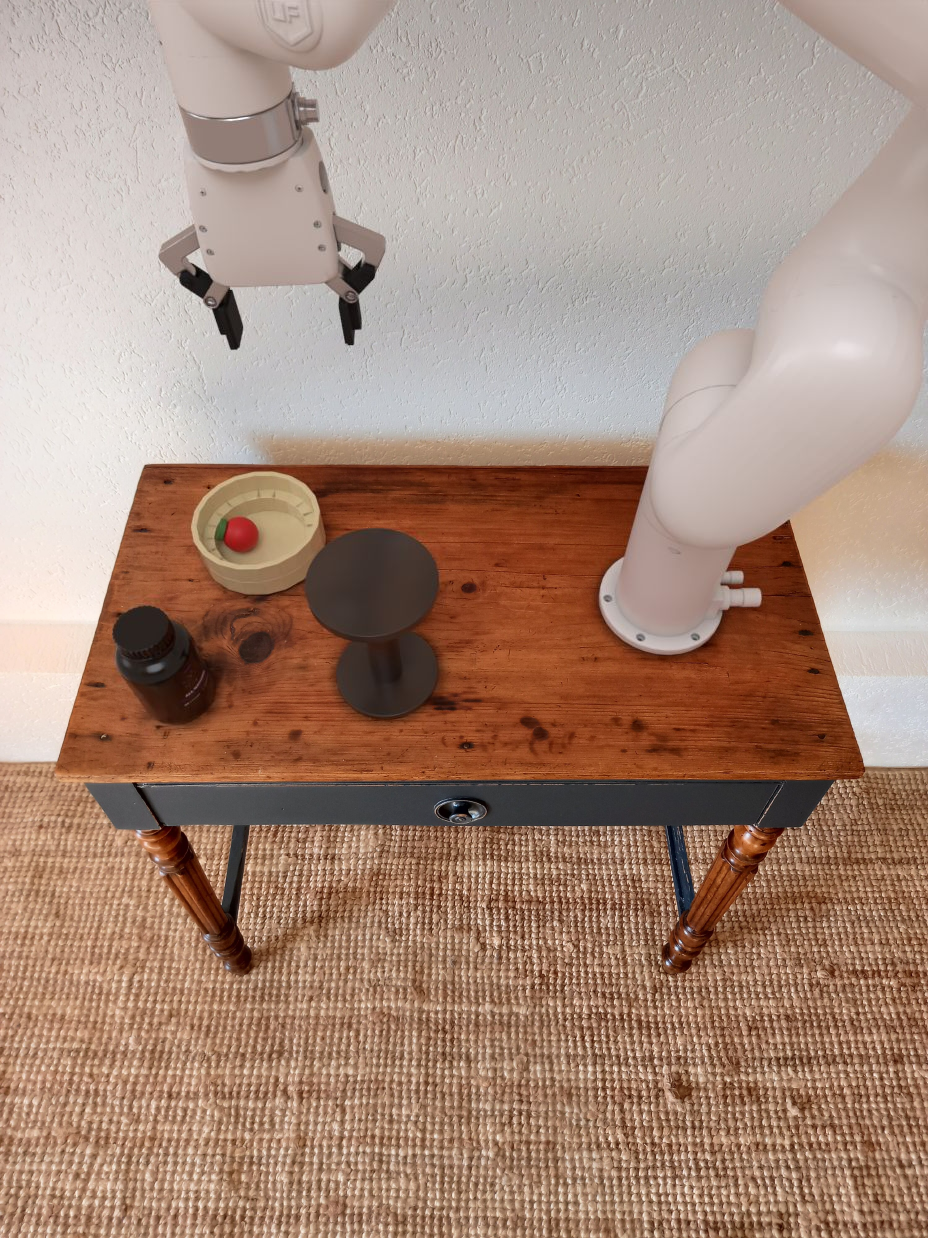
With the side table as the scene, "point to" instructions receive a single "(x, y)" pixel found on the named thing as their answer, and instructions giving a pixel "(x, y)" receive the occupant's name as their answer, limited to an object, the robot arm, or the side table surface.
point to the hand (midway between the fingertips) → (294, 337)
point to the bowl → (260, 532)
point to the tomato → (238, 533)
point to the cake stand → (377, 618)
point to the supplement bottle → (162, 665)
